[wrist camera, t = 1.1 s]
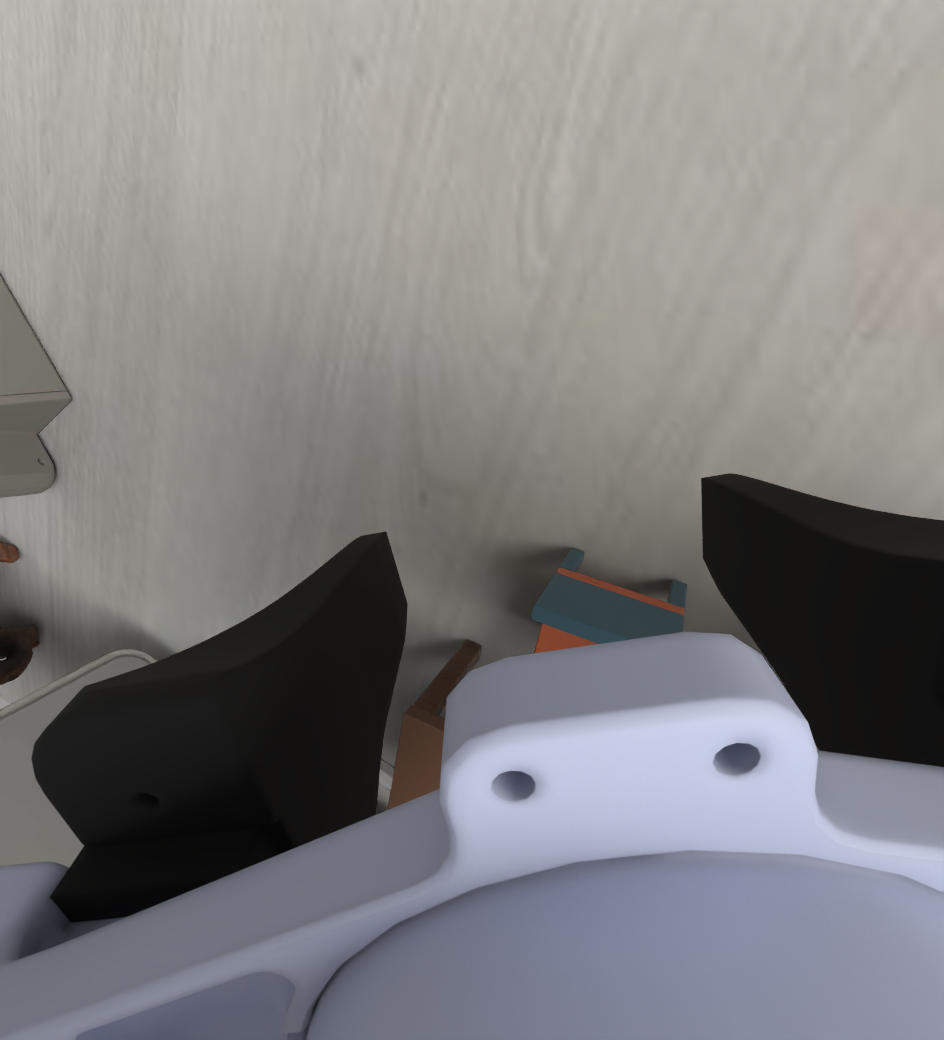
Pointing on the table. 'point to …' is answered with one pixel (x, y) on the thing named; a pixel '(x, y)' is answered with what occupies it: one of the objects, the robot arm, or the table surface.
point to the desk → (427, 731)
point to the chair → (600, 610)
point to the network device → (10, 776)
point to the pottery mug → (15, 635)
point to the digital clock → (25, 403)
